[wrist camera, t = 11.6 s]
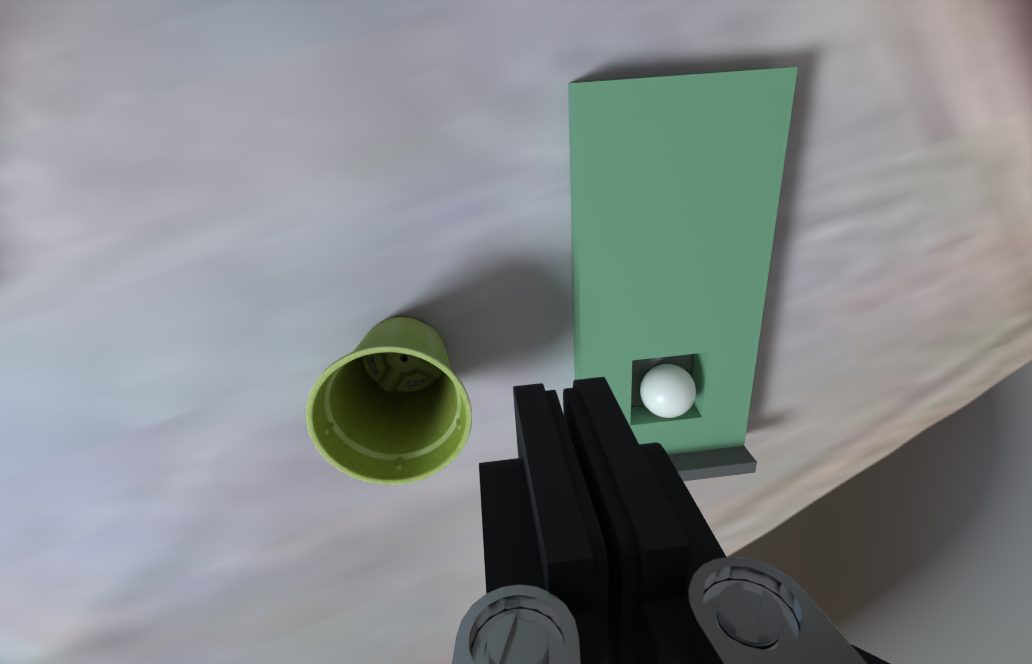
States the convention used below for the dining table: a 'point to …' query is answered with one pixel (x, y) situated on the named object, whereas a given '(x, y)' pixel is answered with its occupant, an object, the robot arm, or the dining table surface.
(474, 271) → the dining table surface
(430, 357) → the plant pot
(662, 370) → the ball
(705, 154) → the green
